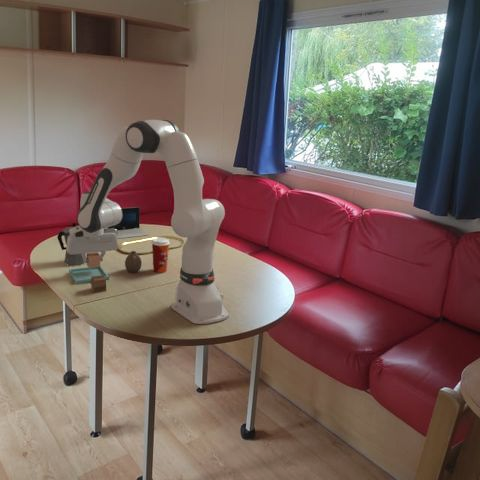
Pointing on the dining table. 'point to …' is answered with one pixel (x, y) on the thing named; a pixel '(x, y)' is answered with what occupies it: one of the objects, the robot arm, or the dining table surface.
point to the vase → (133, 262)
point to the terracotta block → (93, 259)
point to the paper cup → (160, 254)
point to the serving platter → (149, 240)
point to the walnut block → (98, 283)
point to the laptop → (129, 223)
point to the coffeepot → (69, 259)
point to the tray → (86, 274)
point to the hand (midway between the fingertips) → (93, 261)
